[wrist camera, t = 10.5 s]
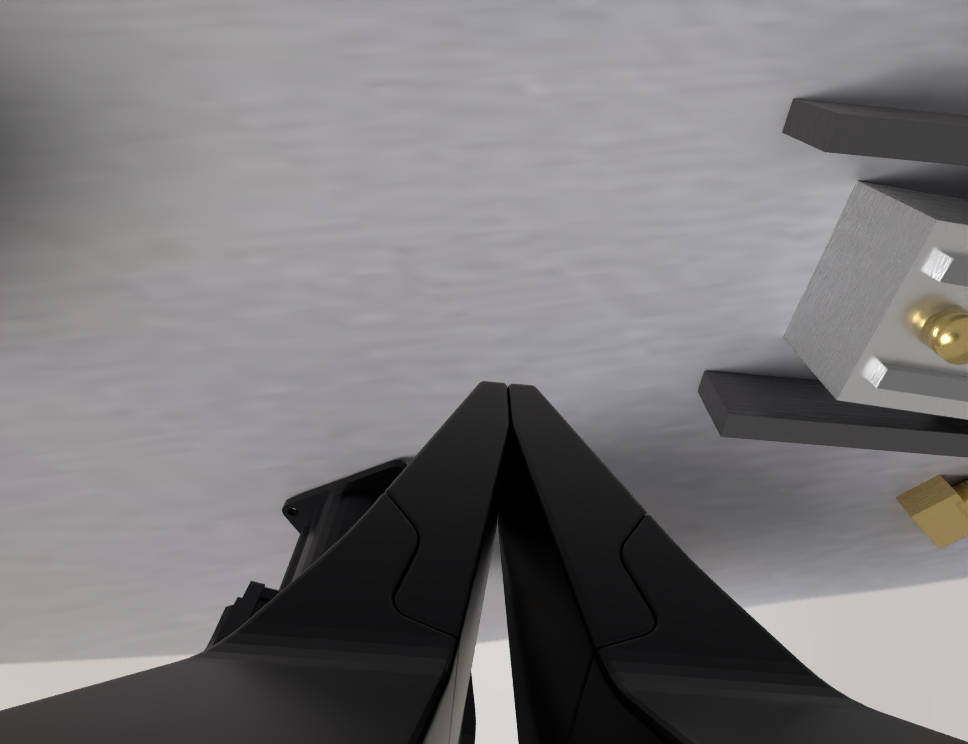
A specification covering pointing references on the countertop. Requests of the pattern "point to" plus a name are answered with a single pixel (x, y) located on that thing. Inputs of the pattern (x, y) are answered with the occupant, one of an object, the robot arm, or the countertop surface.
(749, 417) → the bracket
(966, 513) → the gold elongated piece
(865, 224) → the block
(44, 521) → the countertop surface
